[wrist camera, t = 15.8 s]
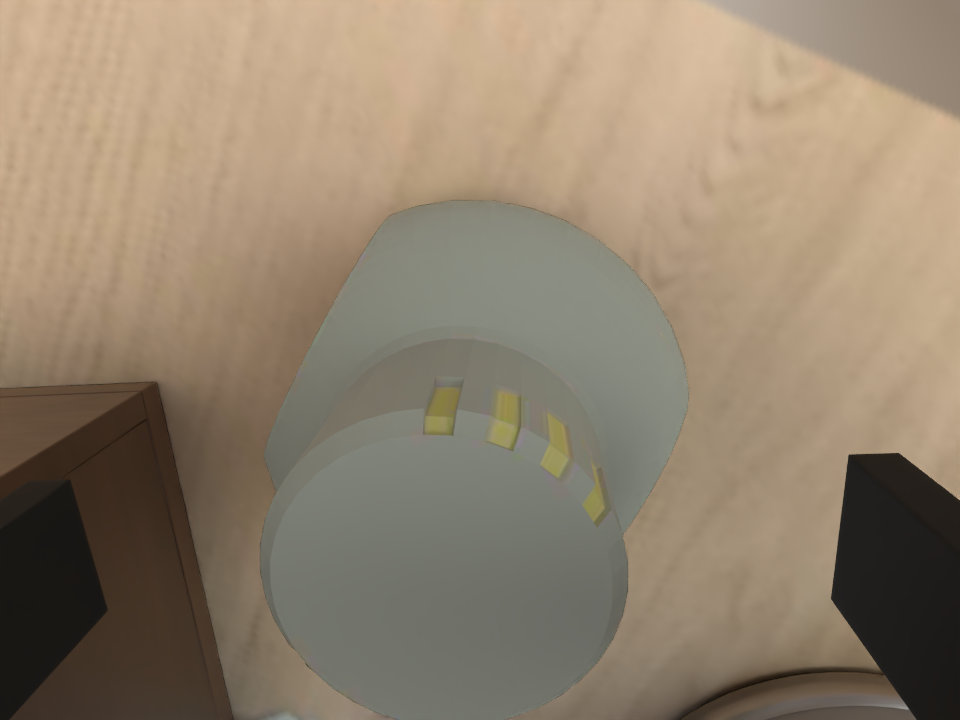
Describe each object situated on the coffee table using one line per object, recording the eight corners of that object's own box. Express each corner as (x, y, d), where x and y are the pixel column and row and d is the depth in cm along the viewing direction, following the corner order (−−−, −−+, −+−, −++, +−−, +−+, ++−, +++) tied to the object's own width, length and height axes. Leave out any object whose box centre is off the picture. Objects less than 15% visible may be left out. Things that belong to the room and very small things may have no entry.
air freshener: (506, 571, 21) (496, 904, 12) (284, 456, 20) (79, 714, 11) (697, 292, 18) (896, 438, 9) (443, 144, 17) (351, 121, 8)
